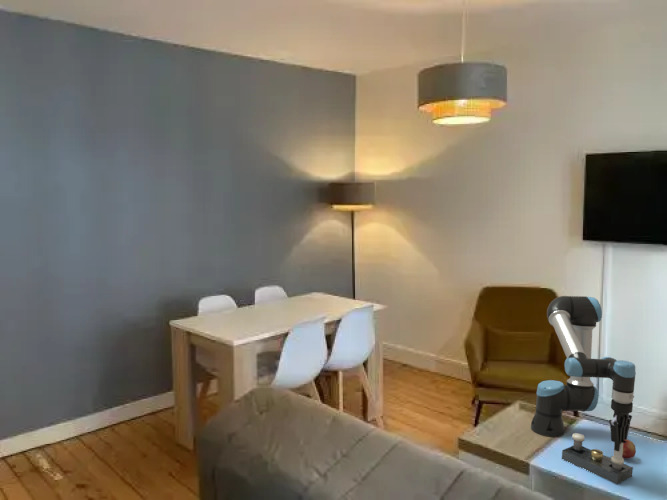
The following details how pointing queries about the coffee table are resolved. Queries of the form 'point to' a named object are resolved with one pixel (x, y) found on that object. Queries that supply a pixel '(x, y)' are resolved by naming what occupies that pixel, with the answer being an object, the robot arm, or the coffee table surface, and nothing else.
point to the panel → (597, 465)
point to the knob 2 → (617, 463)
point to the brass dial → (596, 455)
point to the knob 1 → (578, 441)
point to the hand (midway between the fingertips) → (617, 457)
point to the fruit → (628, 450)
